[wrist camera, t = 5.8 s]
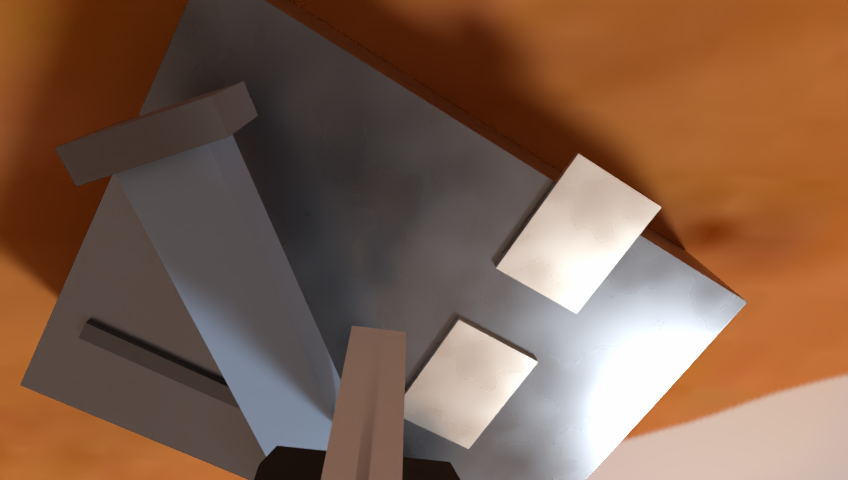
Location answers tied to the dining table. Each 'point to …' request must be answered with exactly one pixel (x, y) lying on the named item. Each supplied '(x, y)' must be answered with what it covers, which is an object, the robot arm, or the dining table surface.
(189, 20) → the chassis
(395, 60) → the dining table surface
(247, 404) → the swing bar
